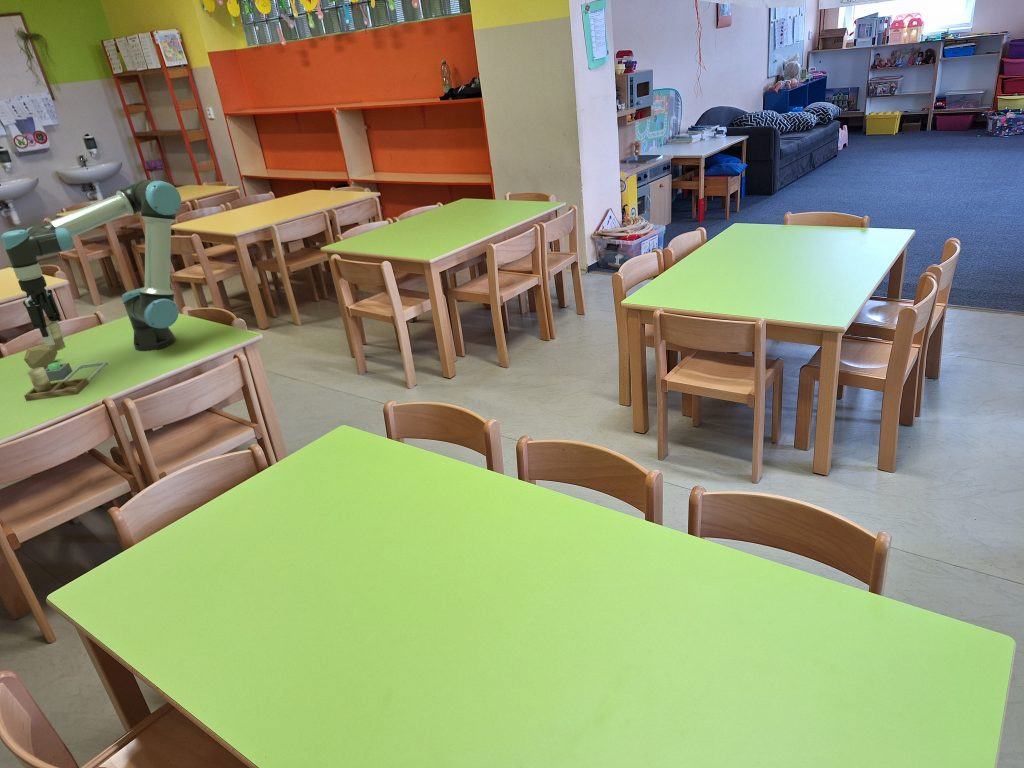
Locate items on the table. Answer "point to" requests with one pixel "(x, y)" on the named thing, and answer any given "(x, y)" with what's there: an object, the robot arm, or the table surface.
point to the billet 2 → (55, 337)
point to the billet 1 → (40, 380)
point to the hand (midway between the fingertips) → (55, 341)
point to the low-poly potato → (39, 356)
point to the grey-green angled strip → (101, 364)
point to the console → (59, 372)
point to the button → (54, 366)
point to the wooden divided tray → (59, 389)
